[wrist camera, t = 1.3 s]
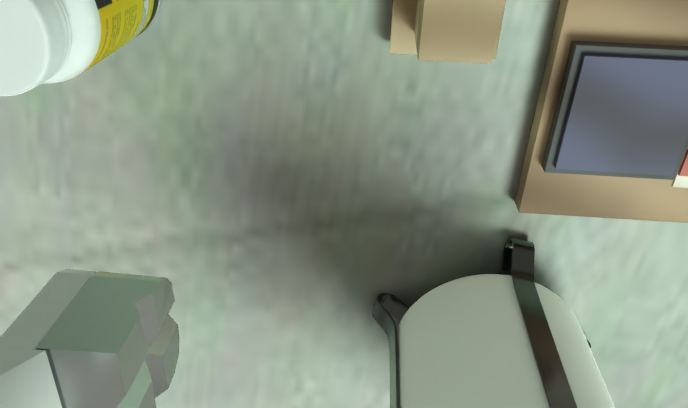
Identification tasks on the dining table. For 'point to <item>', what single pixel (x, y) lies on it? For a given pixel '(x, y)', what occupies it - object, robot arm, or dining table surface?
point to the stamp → (447, 29)
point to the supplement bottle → (63, 37)
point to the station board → (612, 114)
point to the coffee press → (490, 344)
